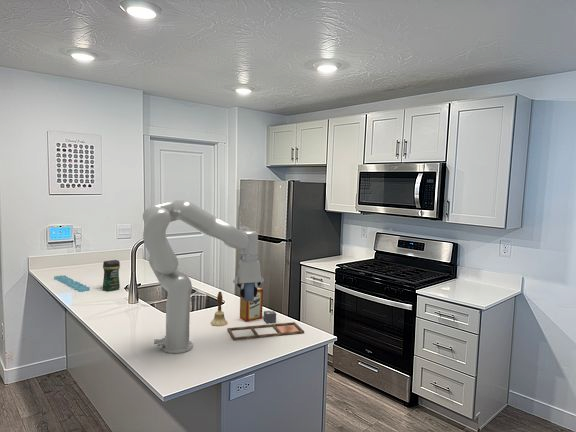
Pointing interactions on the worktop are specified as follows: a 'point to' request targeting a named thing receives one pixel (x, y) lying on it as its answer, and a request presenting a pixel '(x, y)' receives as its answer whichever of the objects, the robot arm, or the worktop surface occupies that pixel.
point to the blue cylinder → (248, 291)
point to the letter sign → (72, 283)
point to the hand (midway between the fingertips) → (248, 296)
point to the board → (280, 332)
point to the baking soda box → (252, 307)
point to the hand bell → (219, 314)
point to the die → (269, 317)
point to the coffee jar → (111, 275)
